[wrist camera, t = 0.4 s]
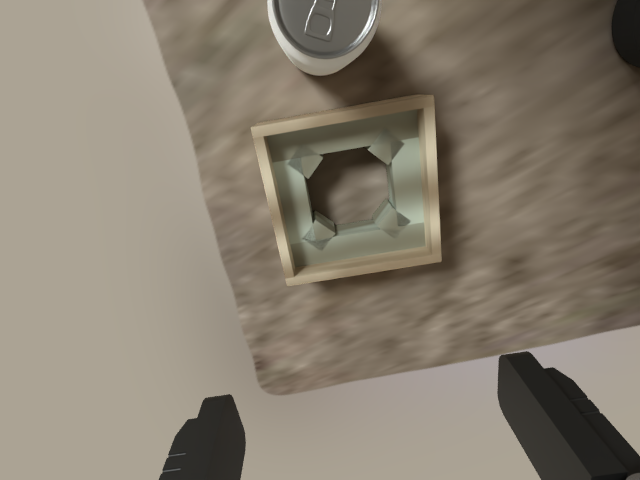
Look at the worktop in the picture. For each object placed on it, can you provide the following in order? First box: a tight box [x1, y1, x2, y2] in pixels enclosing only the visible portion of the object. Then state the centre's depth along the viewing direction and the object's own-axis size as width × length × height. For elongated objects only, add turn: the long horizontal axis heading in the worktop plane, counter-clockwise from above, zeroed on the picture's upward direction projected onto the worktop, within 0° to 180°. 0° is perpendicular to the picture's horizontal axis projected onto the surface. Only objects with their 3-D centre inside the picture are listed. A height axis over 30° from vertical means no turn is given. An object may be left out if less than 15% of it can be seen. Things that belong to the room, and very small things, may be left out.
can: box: [267, 0, 382, 76], centre depth 25 cm, size 6×6×12 cm
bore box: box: [251, 94, 442, 286], centre depth 33 cm, size 14×14×5 cm
